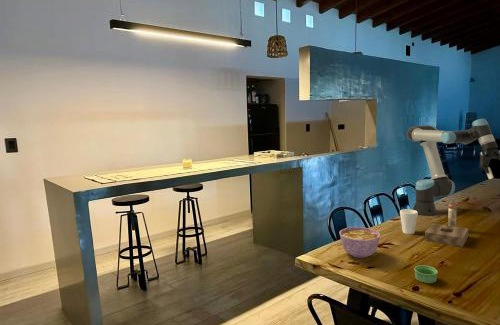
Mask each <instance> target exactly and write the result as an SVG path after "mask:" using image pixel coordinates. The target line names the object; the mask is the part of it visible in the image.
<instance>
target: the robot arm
mask: <svg viewBox="0 0 500 325" xmlns="http://www.w3.org/2000/svg"><path fill="white" fill-rule="evenodd" d="M471 124H472V127H470V128H469V129H467V130H466V129H465V130H451V131H450V130H439V129H438V128H437V127H436V126H435V125H432V124H431V125H430V124H426V125H414V126H411V127H409V128H408V129H407V131H406V132H405V133H406V138H407V140H409V141H410V142H414V143H415V142H416V143H417V142H419V145H420V146H421V147H422V148H423V150H424V151H423V152H424V154H425V159H426V161H427V165H428V169H429V173H430V176H431V177H430V179H429V178H426V179H420V180H417V181H416V183H415V187H414V188H415V202H414V205H413V207H412V210H415V211H417V212H418V215H419V216H430V217H431V216H436V215H437V214H438V213H437V211H438V210H437V207H436V205H435V198H442V197H444V198H445V197H449V196H452V195H453V194H454V192H455V190H456V185H455V182H454V181H453V180H451V179H450V178H449V176H448V175H447V174H445V170H444V168H443V164H442V161H441V157H440V154H439V150H438V146H437V143H443V144H445V145H446V144H448V145H450V144H457V143H459V144H463V145H468V144H471V143H472V142H474V141H476V140H477V141H478V143H479V144H480V148H481V150H482V151H481V152H479V168H480V169H482V170H484V172H485V174H486V175H487V178H488V180H492V179H494V175H493V172H492V169H491V167H490V166H489V164H490V162H491V160H492V159H495V160H499V161H500V150H499V149H498V147H499V146H498V144H497V142H496V139H495V137H494V135H493V133H492V130H491V127H490V125H489V122H488V121H487V119H486V118H479V119H476V120H473V121H472V123H471Z"/></svg>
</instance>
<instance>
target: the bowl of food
mask: <svg viewBox="0 0 500 325" xmlns="http://www.w3.org/2000/svg"><path fill="white" fill-rule="evenodd" d="M339 236H340V240H341V244H342V247H343V250H345V252H346V253H347V254H348V255H350V256H352V257H354V258H357V257H358V259H365V258H368V257H369V256H372V255H375V253H376V252H377V248H378V246H379V242H380V238H381V233H380V232H379V231H377V230H376V229H372V228H370V227H369V228H368V227H362V226H352V227H351V226H350V227H346V228H343V229H341V230H339Z"/></svg>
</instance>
